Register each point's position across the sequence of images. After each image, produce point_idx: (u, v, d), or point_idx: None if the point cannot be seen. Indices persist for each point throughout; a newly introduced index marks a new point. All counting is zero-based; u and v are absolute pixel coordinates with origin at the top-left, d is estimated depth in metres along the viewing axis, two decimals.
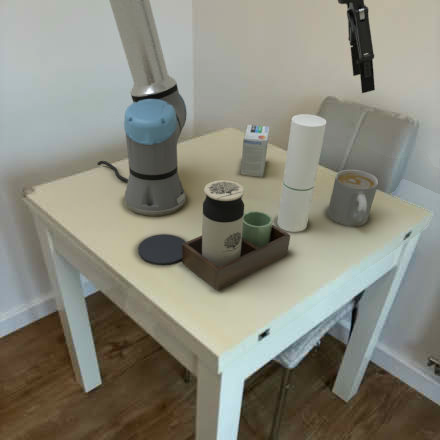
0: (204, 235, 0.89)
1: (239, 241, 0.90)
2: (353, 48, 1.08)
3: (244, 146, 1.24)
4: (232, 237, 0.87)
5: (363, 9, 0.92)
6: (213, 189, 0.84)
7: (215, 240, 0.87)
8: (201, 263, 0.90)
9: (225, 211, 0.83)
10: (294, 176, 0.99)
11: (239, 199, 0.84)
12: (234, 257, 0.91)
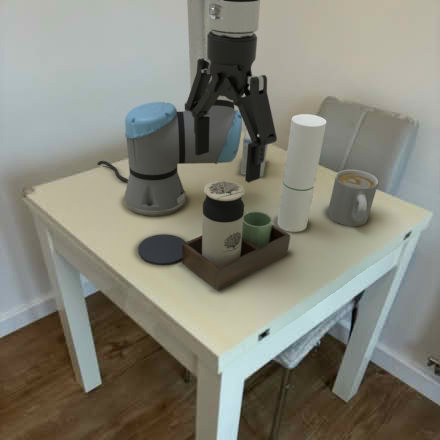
0: (204, 235, 0.89)
1: (239, 241, 0.90)
2: None
3: (244, 146, 1.24)
4: (232, 237, 0.87)
5: None
6: (213, 189, 0.84)
7: (215, 240, 0.87)
8: (201, 263, 0.90)
9: (225, 211, 0.83)
10: (294, 176, 0.99)
11: (239, 199, 0.84)
12: (234, 257, 0.91)
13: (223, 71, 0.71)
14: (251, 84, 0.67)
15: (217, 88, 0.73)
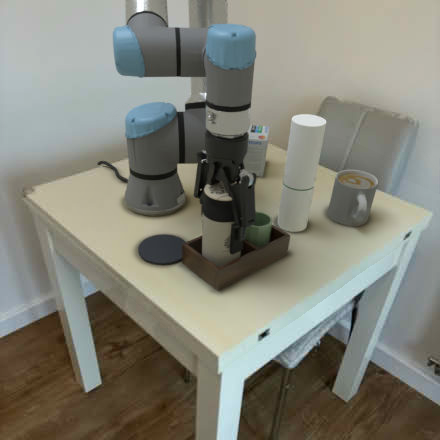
0: (204, 235, 0.89)
1: None
2: None
3: None
4: None
5: None
6: (213, 189, 0.84)
7: (215, 240, 0.87)
8: (201, 263, 0.90)
9: (225, 211, 0.83)
10: (294, 176, 0.99)
11: None
12: (234, 257, 0.91)
13: None
14: (242, 181, 0.78)
15: (216, 175, 0.83)
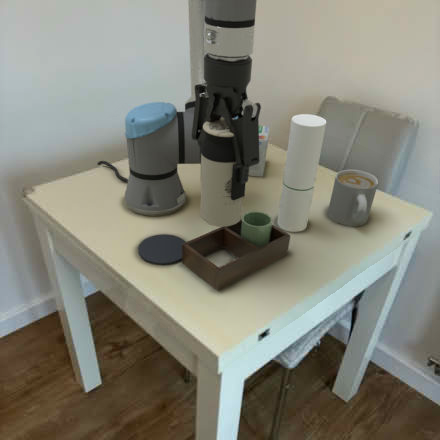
0: (203, 179, 0.82)
1: None
2: None
3: None
4: None
5: None
6: (213, 126, 0.77)
7: (215, 184, 0.80)
8: (201, 263, 0.90)
9: (226, 149, 0.76)
10: (294, 176, 0.99)
11: None
12: (235, 204, 0.84)
13: (218, 86, 0.73)
14: (245, 111, 0.70)
15: (216, 109, 0.75)
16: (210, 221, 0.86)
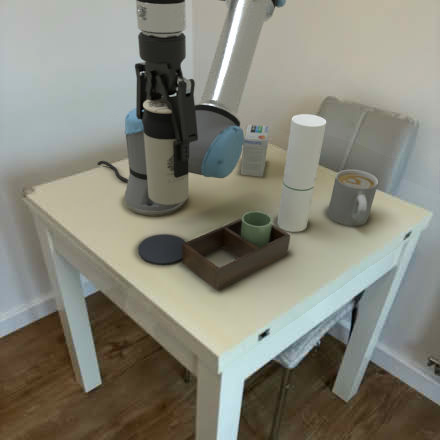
0: (146, 157, 0.83)
1: None
2: None
3: (244, 146, 1.24)
4: None
5: None
6: (152, 103, 0.79)
7: (158, 161, 0.82)
8: (201, 263, 0.90)
9: (165, 126, 0.78)
10: (294, 176, 0.99)
11: None
12: (180, 182, 0.85)
13: (155, 64, 0.75)
14: (179, 87, 0.72)
15: (154, 86, 0.77)
16: (156, 199, 0.87)
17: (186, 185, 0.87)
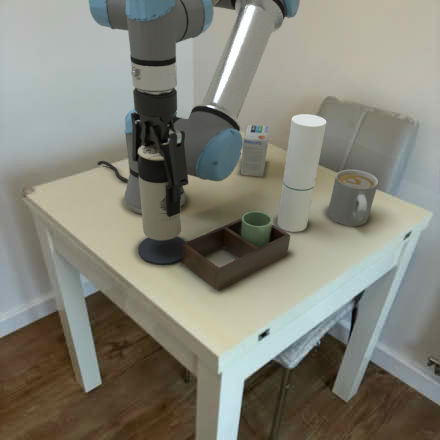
0: (141, 197, 0.89)
1: None
2: None
3: (244, 146, 1.24)
4: None
5: None
6: (146, 150, 0.85)
7: (151, 202, 0.88)
8: (201, 263, 0.90)
9: (158, 171, 0.84)
10: (294, 176, 0.99)
11: None
12: (172, 220, 0.91)
13: None
14: (170, 138, 0.78)
15: (148, 135, 0.83)
16: (150, 235, 0.93)
17: (178, 222, 0.93)
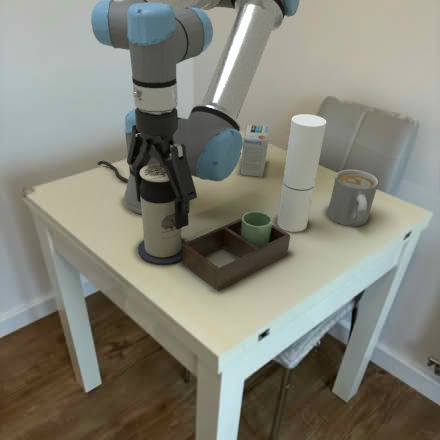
0: (143, 216, 0.92)
1: None
2: None
3: (244, 146, 1.24)
4: (169, 218, 0.90)
5: None
6: (148, 171, 0.87)
7: (153, 221, 0.91)
8: (201, 263, 0.90)
9: (159, 192, 0.87)
10: (294, 176, 0.99)
11: None
12: (173, 238, 0.94)
13: (151, 138, 0.83)
14: (171, 152, 0.80)
15: (148, 150, 0.86)
16: (151, 252, 0.96)
17: (179, 240, 0.96)
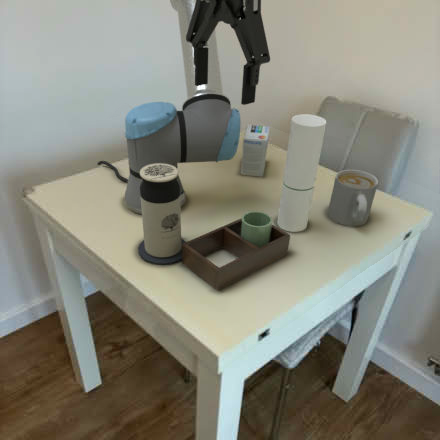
0: (143, 216, 0.92)
1: (177, 222, 0.93)
2: None
3: (244, 146, 1.24)
4: (169, 218, 0.90)
5: None
6: (148, 171, 0.87)
7: (153, 221, 0.91)
8: (201, 263, 0.90)
9: (159, 192, 0.87)
10: (294, 176, 0.99)
11: (173, 181, 0.87)
12: (173, 238, 0.94)
13: None
14: (246, 4, 0.73)
15: (215, 14, 0.79)
16: (151, 252, 0.96)
17: (179, 240, 0.96)
